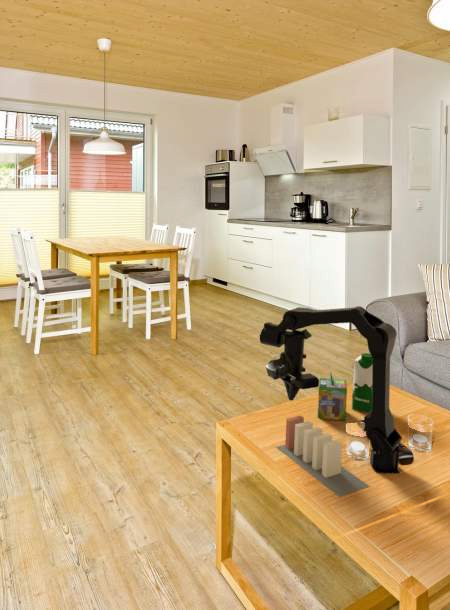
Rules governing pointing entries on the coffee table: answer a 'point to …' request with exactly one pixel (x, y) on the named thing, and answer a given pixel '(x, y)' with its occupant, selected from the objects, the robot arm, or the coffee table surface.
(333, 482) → the mat
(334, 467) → the domino
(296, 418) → the domino
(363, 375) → the milk carton
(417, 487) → the coffee table surface
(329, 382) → the juice carton
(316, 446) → the domino
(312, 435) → the domino
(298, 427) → the domino
